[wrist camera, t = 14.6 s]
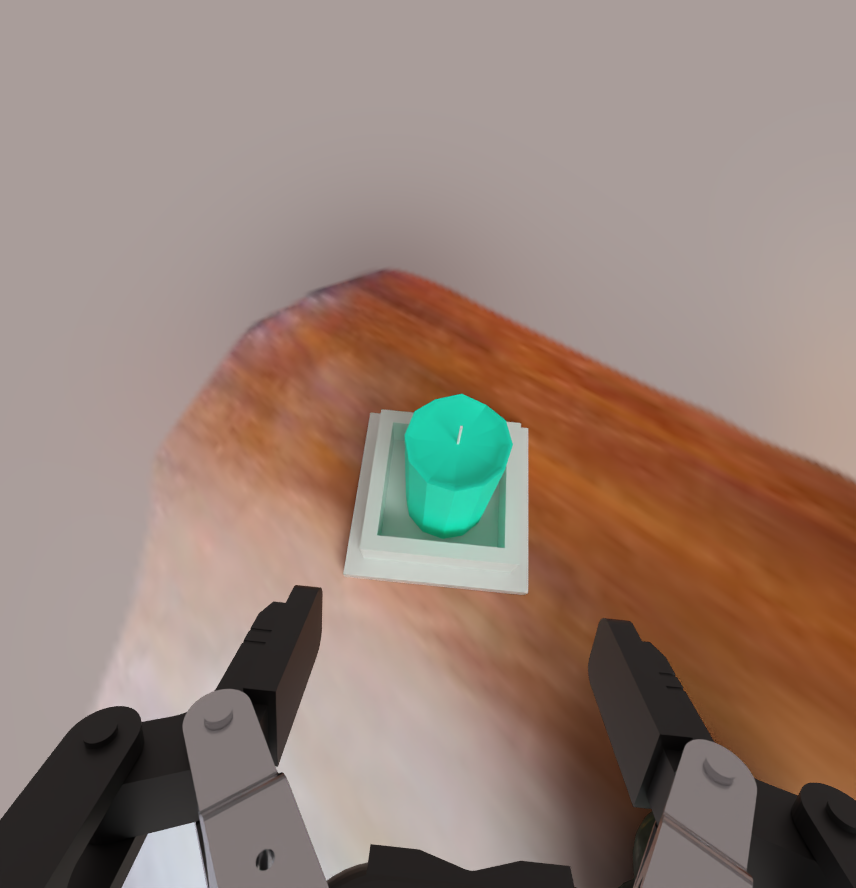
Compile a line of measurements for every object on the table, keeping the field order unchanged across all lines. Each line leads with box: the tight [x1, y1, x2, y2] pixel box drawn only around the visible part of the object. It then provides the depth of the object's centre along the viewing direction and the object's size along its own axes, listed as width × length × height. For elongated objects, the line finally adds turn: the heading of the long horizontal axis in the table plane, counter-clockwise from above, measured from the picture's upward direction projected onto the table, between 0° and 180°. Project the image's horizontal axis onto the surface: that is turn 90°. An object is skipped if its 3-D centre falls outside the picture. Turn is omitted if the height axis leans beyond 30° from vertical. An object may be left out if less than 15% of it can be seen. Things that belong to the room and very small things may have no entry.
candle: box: [404, 394, 513, 539], centre depth 29 cm, size 6×6×12 cm
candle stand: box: [343, 409, 528, 595], centre depth 34 cm, size 13×13×4 cm
